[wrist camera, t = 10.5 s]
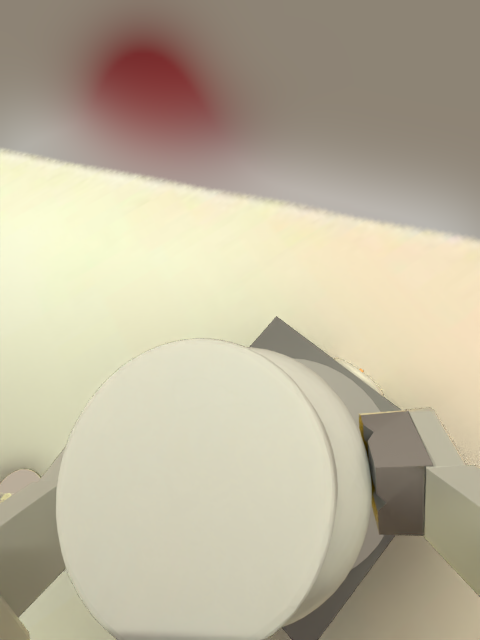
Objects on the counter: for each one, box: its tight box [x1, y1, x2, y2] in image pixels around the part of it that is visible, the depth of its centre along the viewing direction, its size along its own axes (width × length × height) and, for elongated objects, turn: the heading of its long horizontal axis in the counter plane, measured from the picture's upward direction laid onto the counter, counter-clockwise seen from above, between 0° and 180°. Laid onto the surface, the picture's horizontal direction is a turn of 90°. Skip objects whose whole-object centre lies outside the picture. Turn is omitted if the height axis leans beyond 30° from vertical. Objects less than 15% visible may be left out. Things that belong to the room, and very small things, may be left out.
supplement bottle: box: [56, 338, 372, 640], centre depth 9 cm, size 5×5×10 cm
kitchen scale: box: [250, 316, 402, 640], centre depth 21 cm, size 12×13×5 cm
